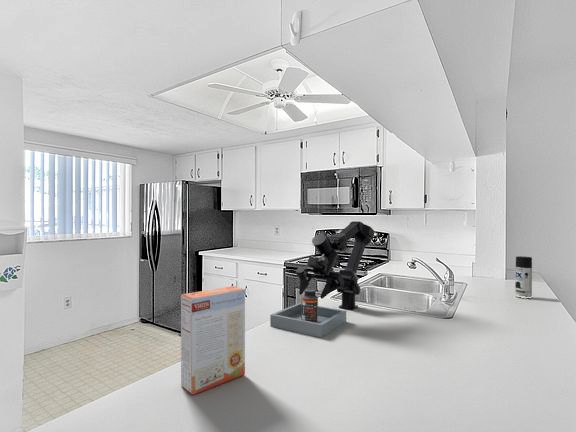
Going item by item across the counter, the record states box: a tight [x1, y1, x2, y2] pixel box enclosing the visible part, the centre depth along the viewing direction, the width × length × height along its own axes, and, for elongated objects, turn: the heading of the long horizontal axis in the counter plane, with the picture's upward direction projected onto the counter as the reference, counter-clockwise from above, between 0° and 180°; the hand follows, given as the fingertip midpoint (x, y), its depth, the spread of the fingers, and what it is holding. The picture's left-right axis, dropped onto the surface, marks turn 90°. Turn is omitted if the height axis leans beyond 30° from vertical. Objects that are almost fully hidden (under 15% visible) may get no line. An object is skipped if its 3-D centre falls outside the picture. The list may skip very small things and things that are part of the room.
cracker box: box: [180, 285, 246, 396], centre depth 77 cm, size 14×6×21 cm, turn 133°
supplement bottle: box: [301, 288, 319, 323], centre depth 120 cm, size 6×6×11 cm
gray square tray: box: [269, 302, 347, 338], centre depth 120 cm, size 20×20×4 cm
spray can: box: [514, 256, 533, 297], centre depth 164 cm, size 7×7×20 cm
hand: (310, 296), depth 120 cm, fingers open, 9 cm apart
